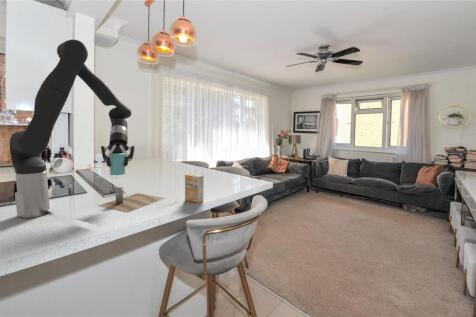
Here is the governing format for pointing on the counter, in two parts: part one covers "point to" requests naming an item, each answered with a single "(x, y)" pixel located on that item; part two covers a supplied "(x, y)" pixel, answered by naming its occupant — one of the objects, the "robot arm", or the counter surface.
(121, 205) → the post stand
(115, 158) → the teal cylinder
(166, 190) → the counter surface
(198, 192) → the supplement box
